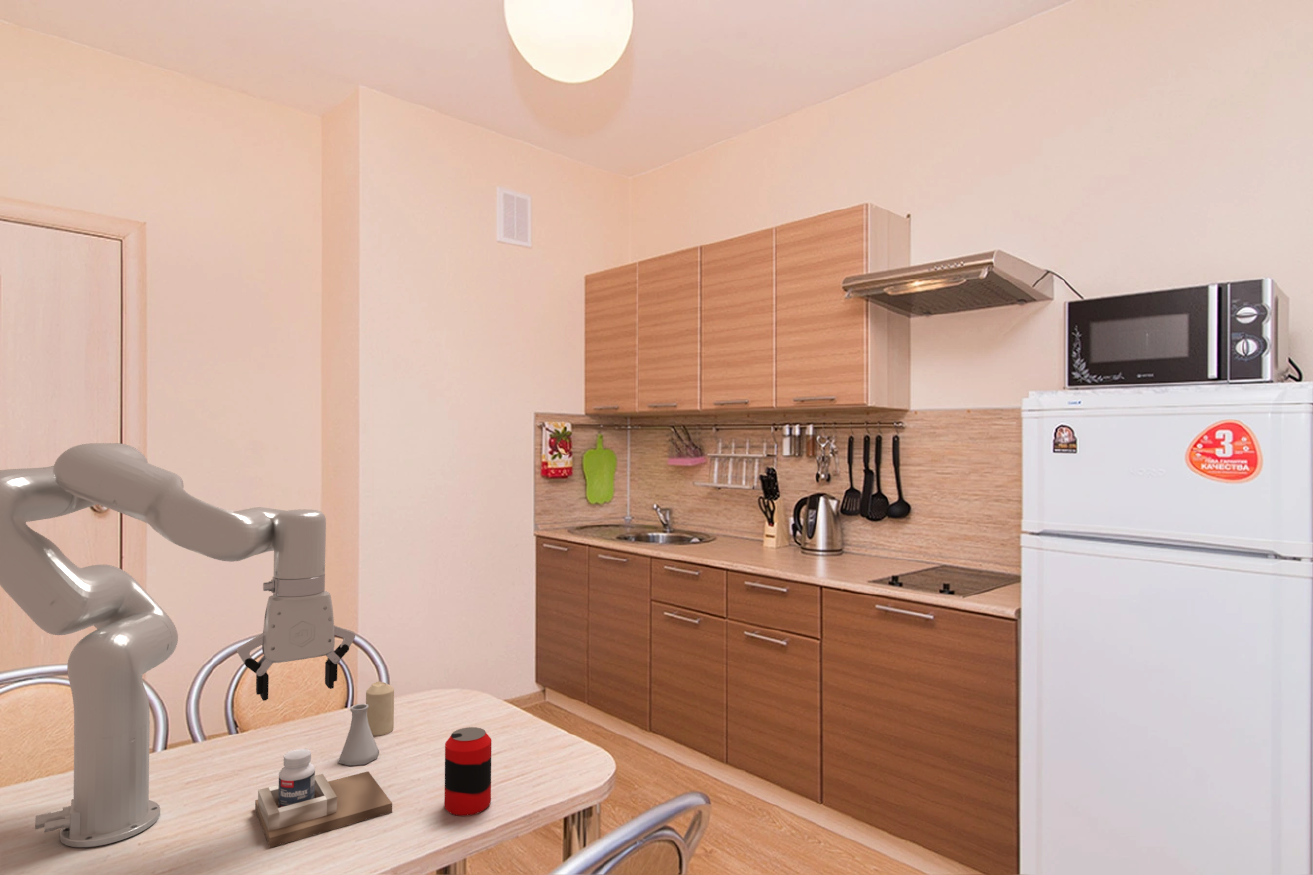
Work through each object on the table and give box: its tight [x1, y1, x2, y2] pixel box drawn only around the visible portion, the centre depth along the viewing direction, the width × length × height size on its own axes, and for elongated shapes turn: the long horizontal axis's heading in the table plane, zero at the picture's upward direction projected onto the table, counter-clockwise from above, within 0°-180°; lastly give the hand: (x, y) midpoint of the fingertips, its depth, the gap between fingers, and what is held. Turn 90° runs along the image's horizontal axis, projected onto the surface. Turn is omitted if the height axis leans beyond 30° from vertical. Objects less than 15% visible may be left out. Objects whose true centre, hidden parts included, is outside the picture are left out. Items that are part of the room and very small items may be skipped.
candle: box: [365, 681, 395, 737], centre depth 153 cm, size 6×6×10 cm
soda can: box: [443, 726, 492, 817], centre depth 122 cm, size 8×8×12 cm
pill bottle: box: [278, 748, 316, 808], centre depth 118 cm, size 5×5×9 cm
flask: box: [337, 703, 380, 766], centre depth 140 cm, size 7×7×10 cm
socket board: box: [254, 771, 393, 849], centre depth 120 cm, size 18×14×4 cm
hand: (297, 691), depth 118 cm, fingers open, 9 cm apart
